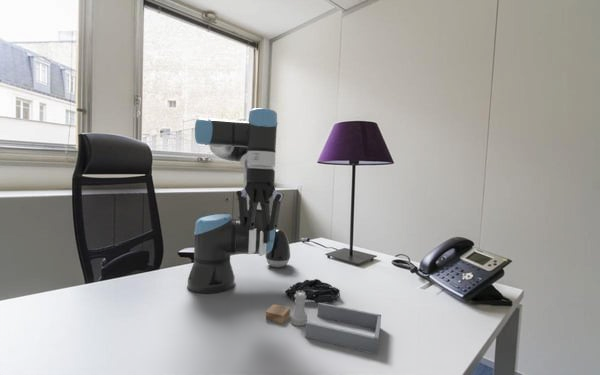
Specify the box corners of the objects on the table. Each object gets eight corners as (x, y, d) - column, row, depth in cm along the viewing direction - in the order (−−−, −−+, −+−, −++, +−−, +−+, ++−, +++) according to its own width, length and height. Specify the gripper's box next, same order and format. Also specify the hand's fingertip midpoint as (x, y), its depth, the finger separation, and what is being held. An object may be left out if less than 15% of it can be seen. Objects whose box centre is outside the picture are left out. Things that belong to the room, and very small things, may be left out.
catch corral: (304, 337, 70) (305, 323, 70) (318, 314, 82) (318, 302, 82) (376, 354, 65) (378, 339, 65) (380, 327, 76) (381, 314, 76)
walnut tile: (265, 320, 78) (265, 311, 78) (273, 312, 82) (273, 303, 82) (282, 325, 76) (283, 315, 76) (289, 316, 81) (290, 307, 81)
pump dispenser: (262, 262, 125) (264, 226, 124) (286, 261, 128) (287, 226, 127) (267, 270, 115) (268, 232, 114) (292, 269, 118) (294, 231, 117)
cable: (286, 306, 87) (287, 291, 87) (282, 287, 101) (283, 274, 100) (343, 305, 89) (343, 291, 89) (331, 286, 103) (332, 274, 103)
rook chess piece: (297, 316, 80) (299, 287, 80) (310, 322, 78) (312, 292, 77) (286, 322, 77) (288, 292, 76) (300, 328, 74) (301, 297, 74)
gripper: (228, 166, 78) (224, 253, 79) (282, 169, 73) (278, 261, 74) (242, 166, 85) (239, 246, 86) (292, 169, 80) (288, 254, 81)
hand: (257, 253), depth 80 cm, fingers open, 3 cm apart
